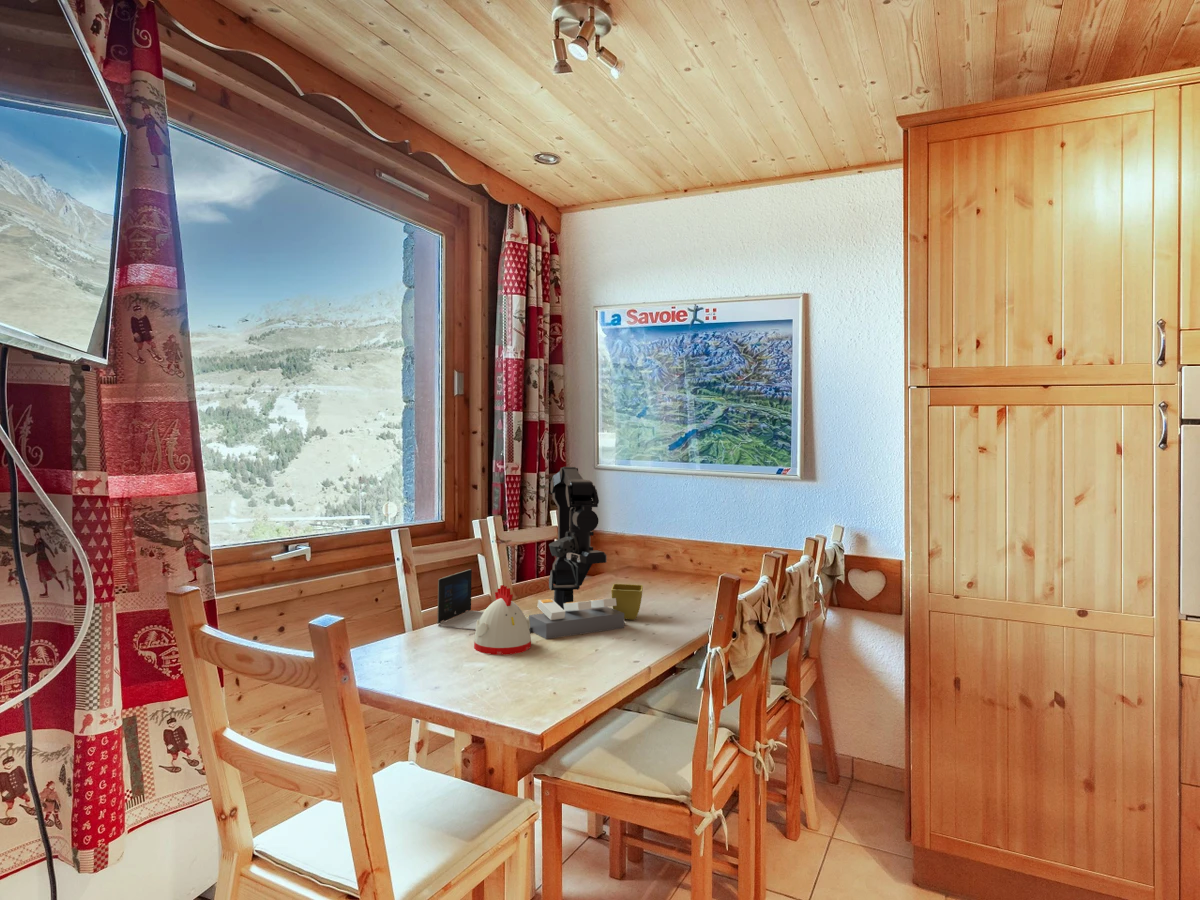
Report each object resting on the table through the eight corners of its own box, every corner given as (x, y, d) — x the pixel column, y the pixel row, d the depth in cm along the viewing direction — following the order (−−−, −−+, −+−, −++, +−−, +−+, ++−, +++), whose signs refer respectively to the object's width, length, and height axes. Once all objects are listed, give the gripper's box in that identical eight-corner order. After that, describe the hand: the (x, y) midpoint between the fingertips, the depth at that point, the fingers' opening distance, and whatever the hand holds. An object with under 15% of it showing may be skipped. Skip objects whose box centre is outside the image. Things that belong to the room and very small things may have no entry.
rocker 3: (589, 607, 200) (588, 600, 201) (601, 606, 202) (600, 598, 203) (604, 607, 194) (603, 598, 194) (616, 605, 196) (615, 597, 196)
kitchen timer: (488, 658, 167) (489, 593, 166) (465, 643, 178) (465, 583, 178) (541, 649, 174) (542, 587, 174) (515, 636, 186) (516, 578, 186)
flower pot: (642, 615, 211) (643, 584, 211) (641, 622, 203) (642, 590, 203) (612, 613, 212) (613, 583, 212) (610, 621, 204) (611, 589, 203)
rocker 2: (564, 610, 196) (563, 602, 196) (576, 609, 198) (576, 601, 199) (578, 610, 189) (577, 601, 190) (591, 608, 192) (590, 600, 192)
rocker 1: (537, 607, 192) (538, 599, 192) (550, 605, 194) (551, 598, 194) (550, 620, 186) (551, 612, 185) (564, 618, 188) (565, 610, 187)
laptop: (477, 631, 190) (478, 582, 190) (436, 627, 194) (437, 579, 194) (508, 616, 207) (509, 571, 207) (469, 612, 211) (470, 568, 211)
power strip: (508, 632, 189) (508, 617, 189) (604, 619, 205) (604, 605, 205) (524, 642, 180) (525, 626, 180) (624, 627, 196) (624, 613, 196)
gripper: (537, 525, 197) (536, 582, 197) (570, 532, 181) (569, 594, 181) (572, 523, 203) (571, 578, 203) (608, 530, 187) (607, 590, 187)
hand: (578, 585), depth 193 cm, fingers closed
